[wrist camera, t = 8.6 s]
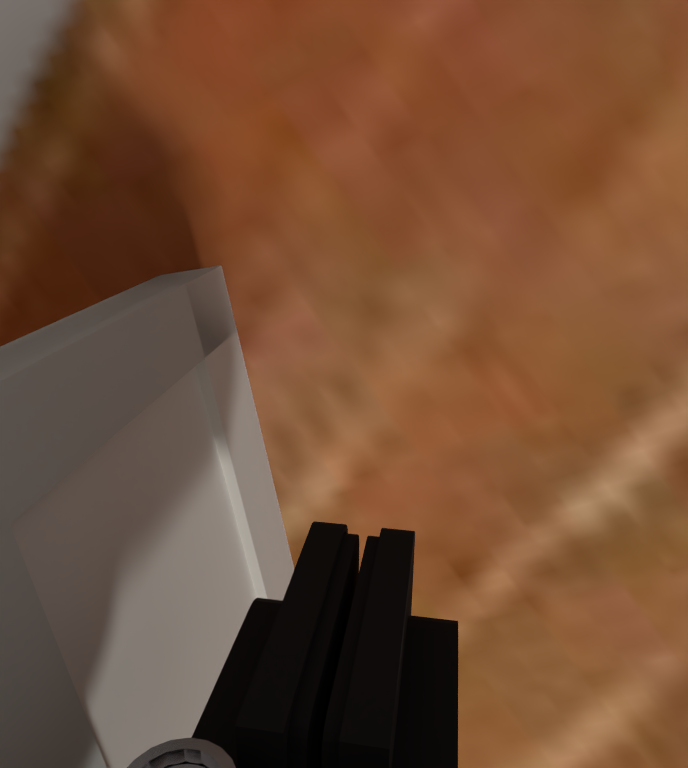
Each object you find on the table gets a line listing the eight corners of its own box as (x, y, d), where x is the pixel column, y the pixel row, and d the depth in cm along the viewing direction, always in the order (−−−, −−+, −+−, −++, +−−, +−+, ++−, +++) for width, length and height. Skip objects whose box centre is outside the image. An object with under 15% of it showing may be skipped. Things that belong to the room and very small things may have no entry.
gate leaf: (348, 793, 19) (246, 1392, 10) (300, 791, 20) (158, 1372, 10) (221, 265, 14) (-228, 500, 5) (159, 275, 14) (-371, 513, 5)
